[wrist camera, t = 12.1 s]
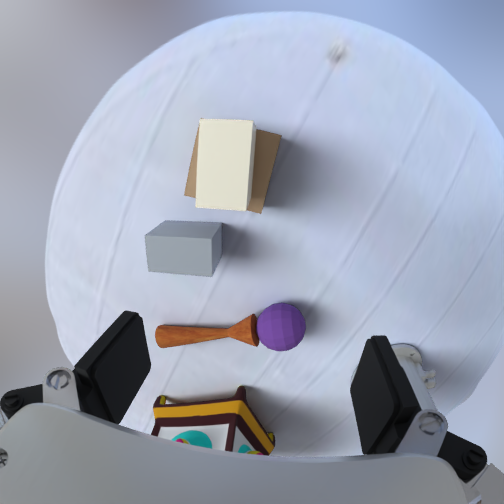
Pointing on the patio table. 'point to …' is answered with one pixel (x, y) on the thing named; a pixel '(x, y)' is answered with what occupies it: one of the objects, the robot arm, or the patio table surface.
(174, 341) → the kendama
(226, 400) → the decorative lantern
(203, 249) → the slate grey brick
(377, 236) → the patio table surface
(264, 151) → the walnut block
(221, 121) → the cream brick
